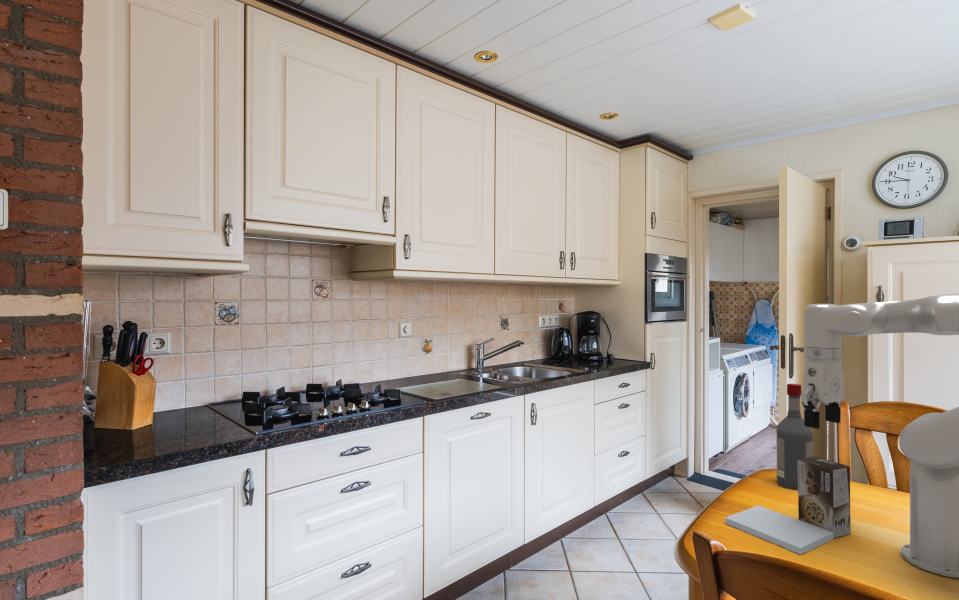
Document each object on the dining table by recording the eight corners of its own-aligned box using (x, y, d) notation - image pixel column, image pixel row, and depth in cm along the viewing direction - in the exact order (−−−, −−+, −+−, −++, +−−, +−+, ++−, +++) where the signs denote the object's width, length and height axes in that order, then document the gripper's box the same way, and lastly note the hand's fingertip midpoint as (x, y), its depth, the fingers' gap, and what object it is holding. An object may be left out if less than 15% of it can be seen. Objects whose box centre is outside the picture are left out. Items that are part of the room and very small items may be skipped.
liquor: (812, 482, 154) (811, 383, 153) (813, 492, 146) (813, 388, 145) (777, 477, 158) (776, 381, 158) (776, 487, 150) (776, 385, 150)
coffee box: (852, 533, 121) (851, 466, 121) (833, 538, 119) (833, 470, 118) (814, 518, 129) (814, 455, 129) (796, 522, 127) (796, 458, 127)
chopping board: (833, 538, 118) (833, 532, 118) (800, 554, 111) (800, 548, 111) (758, 510, 134) (758, 505, 134) (725, 523, 127) (725, 517, 127)
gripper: (820, 358, 116) (820, 433, 116) (857, 353, 125) (857, 423, 125) (786, 355, 123) (786, 426, 123) (824, 350, 131) (824, 416, 131)
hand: (822, 424), depth 124 cm, fingers open, 9 cm apart
